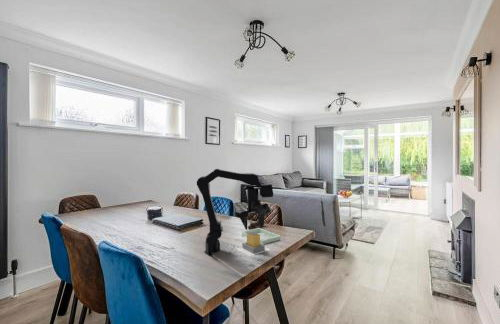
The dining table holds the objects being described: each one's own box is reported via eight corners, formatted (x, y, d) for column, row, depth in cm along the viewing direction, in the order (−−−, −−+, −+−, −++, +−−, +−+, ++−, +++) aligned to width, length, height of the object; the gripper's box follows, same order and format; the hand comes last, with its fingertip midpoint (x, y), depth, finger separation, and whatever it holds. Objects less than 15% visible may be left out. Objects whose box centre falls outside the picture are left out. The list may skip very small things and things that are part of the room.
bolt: (248, 233, 167) (260, 227, 179) (254, 230, 164) (265, 224, 176) (244, 225, 168) (257, 219, 180) (250, 222, 165) (262, 217, 178)
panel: (249, 258, 121) (249, 250, 121) (235, 250, 131) (235, 244, 131) (271, 251, 130) (271, 244, 129) (257, 244, 139) (257, 238, 139)
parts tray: (262, 246, 137) (262, 240, 137) (241, 236, 154) (241, 231, 154) (280, 241, 145) (280, 235, 145) (259, 232, 162) (259, 227, 162)
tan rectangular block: (253, 251, 127) (253, 236, 127) (246, 248, 132) (246, 233, 131) (260, 250, 129) (259, 234, 129) (253, 246, 134) (252, 231, 134)
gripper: (247, 202, 118) (248, 235, 118) (276, 197, 129) (277, 228, 129) (234, 199, 127) (235, 230, 127) (263, 195, 138) (263, 223, 138)
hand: (253, 228), depth 130 cm, fingers open, 9 cm apart
